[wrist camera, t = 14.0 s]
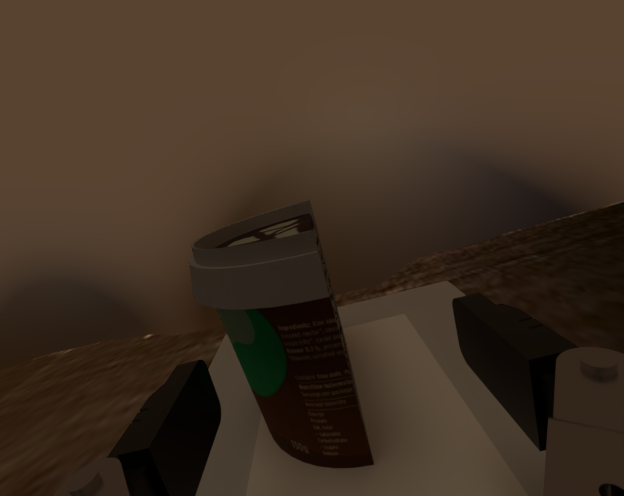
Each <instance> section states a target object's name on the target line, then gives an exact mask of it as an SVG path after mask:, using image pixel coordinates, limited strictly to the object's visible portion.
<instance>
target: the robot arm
mask: <svg viewBox="0 0 624 496" xmlns="http://www.w3.org/2000/svg"><path fill="white" fill-rule="evenodd" d="M452 307H453V313H454V319H455V325H456V330H457V336H458V342H459V347H460V350H461V353H462V355H463V358H464V360H465V361H466V363H467V364H468V366H469V367H470V368H471V369H472V371H473V372H474V373H475V374H476V375H477V377H478V378H479V379H480V380H481V381H482V383H483V384H484V385H485V386H486V387H487V389H488V390H489V391H490V392H491V393H492V394H493V396H494V397H495V398H496V399H497V400H498V402H499V403H500V404H501V405H502V406H503V408H504V409H505V410H506V411H507V412H508V414H509V415H510V416H511V417H512V418H513V420H514V421H515V422H516V423H517V424H518V426H519V427H520V428H521V429H522V430H523V432H524V433H525V434H526V435H527V436H528V438H529V439H530V440H531V441H532V442H533V444H534V445H535V446H536V447H537V448H538V450H539V451H544V450H546V459H545V474H544V489H543V496H624V354H622V353H620V352H617V351H613V350H609V349H604V348H596V347H580V348H579V347H578V346H576V345H574V344H573V343H571V342H570V341H568V340H567V339H565V338H564V337H562V336H560V335H559V334H557V333H556V332H554V331H553V330H551V329H550V328H548V327H547V326H543V324H542V323H540V322H539V321H537V320H536V319H532V317H531V316H529V315H528V314H526V313H525V312H523V311H522V310H520V309H518V308H514V307H511V306H508V305H504V304H498V305H496V304H494V303H493V302H491V301H490V300H489V299H487V298H486V297H484V296H483V295H482V294H480V293H474V294H470V295H466V296H462V297H458V298H454V299H453V301H452ZM220 422H221V405H220V401H219V398H218V395H217V392H216V390H215V387H214V384H213V381H212V379H211V376H210V373H209V370H208V368H207V365H206V363H205V362H204V361H203V360H197V361H193V362H189V363H185V364H181V365H178V366H176V368H175V369H174V371H173V372H172V374H171V375H170V377H169V378H168V380H167V381H166V383H165V384H164V385H162V386H161V387H160V388H159V389H158V390H157V391H156V392H154V393H153V394H152V395H151V396H150V397H149V398H148V399H147V401H146V402H145V404H144V405H143V407H142V408H141V410H140V413H138V414H137V415H136V417H135V418H134V420H133V423H132V424H130V425H129V427H128V428H127V430H126V431H125V433H124V434H123V435H122V437H121V438H120V440H119V441H118V443H117V444H116V445H115V447H114V448H113V450H112V451H111V453H110V454H109V456H108V457H107V458H105V459H101V460H98V461H96V462H94V463H91V464H89V465H88V466H86V467H84V468H83V469H81V470H79V471H78V472H77V473H75V474H74V475H73V476H71V477H70V478H69V479H68V480H67V481H66V482H64V483H63V484H62V485H61V486H60V488H59V489H58V490H57V491H56V492H55V494H54V495H53V496H195V495H196V492H197V490H198V487H199V484H200V481H201V478H202V475H203V472H204V469H205V466H206V463H207V460H208V457H209V454H210V451H211V449H212V446H213V443H214V440H215V437H216V434H217V431H218V428H219V425H220Z"/></svg>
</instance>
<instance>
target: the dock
mask: <svg viewBox="0 0 624 496" xmlns="http://www.w3.org/2000/svg"><path fill="white" fill-rule="evenodd" d="M462 296H466V295H465V294H463V293H462V292H461V291H460V290H458V289H457V288H456V287H454V286H453V285H452V284H451V283H449V282H448V281H444V282H439V283H435V284H431V285H427V286H423V287H419V288H415V289H411V290H407V291H403V292H399V293H394V294H390V295H386V296H382V297H378V298H374V299H370V300H366V301H362V302H358V303H354V304H349V305H345V306H341V307H337V309H338V313H339V317H340V321H341V325H342V329H343V333H344V337H345V341H346V344H347V349H348V353H349V357H350V362H351V366H352V370H353V375H354V379H355V383H356V388H357V392H358V396H359V401H360V405H361V409H362V414H363V418H364V422H365V427H366V431H367V435H368V440H369V444H370V448H371V453H372V457H373V462H374V465H369V466H363V467H357V468H327V467H319V466H315V465H311V464H308V463H304V462H302V461H300V460H298V459H296V458H294V457H291V456H290V455H289V454H287V453H286V452H285V451H283V450H282V449H281V448H280V447H279V446H278V445H277V443H276V442H275V441H274V440H273V437H272V435H271V433H270V431H269V429H268V427H267V424H266V422H265V420H264V417H263V415H262V413H261V411H260V408H259V406H258V404H257V401H256V399H255V397H254V394H253V392H252V390H251V388H250V385H249V383H248V381H247V378H246V376H245V374H244V371H243V369H242V367H241V365H240V362H239V360H238V358H237V355H236V353H235V351H234V348H233V346H232V344H231V342H230V339H229V337H228V335H225V337H224V339H223V341H222V343H221V345H220V347H219V349H218V351H217V353H216V355H215V357H214V359H213V361H212V363H211V365H210V367H209V369H208V370H209V373H210V376H211V379H212V381H213V384H214V387H215V390H216V392H217V395H218V398H219V401H220V405H221V422H220V425H219V428H218V431H217V434H216V437H215V440H214V443H213V446H212V449H211V451H210V454H209V457H208V460H207V463H206V466H205V469H204V472H203V475H202V478H201V481H200V484H199V487H198V490H197V492H196V495H195V496H543V489H544V474H545V459H546V450H544V451H539V450H538V448H537V447H536V446H535V445H534V444H533V442H532V441H531V440H530V439H529V438H528V436H527V435H526V434H525V433H524V432H523V430H522V429H521V428H520V427H519V426H518V424H517V423H516V422H515V421H514V420H513V418H512V417H511V416H510V415H509V414H508V412H507V411H506V410H505V409H504V408H503V406H502V405H501V404H500V403H499V402H498V400H497V399H496V398H495V397H494V396H493V394H492V393H491V392H490V391H489V390H488V389H487V387H486V386H485V385H484V384H483V383H482V381H481V380H480V379H479V378H478V377H477V375H476V374H475V373H474V372H473V371H472V369H471V368H470V367H469V366H468V364H467V363H466V361H465V360H464V358H463V355H462V353H461V350H460V347H459V342H458V336H457V330H456V325H455V319H454V313H453V307H452V301H453V299H454V298H458V297H462Z"/></svg>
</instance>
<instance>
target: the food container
mask: <svg viewBox="0 0 624 496" xmlns="http://www.w3.org/2000/svg"><path fill="white" fill-rule="evenodd" d="M191 247H192V251H193V257H192V258H191V259H190V261H189V264H190V273H191V282H192V291H193V295H194V299H195V300H196V301H198V302H199V303H200V304H202V305H205V306H208V307H213V308H216V309H217V312H218V314H219V316H220V319H221V321H222V323H223V325H224V328H225V330H226V332H227V335H228V337H229V339H230V342H231V344H232V346H233V348H234V351H235V353H236V355H237V358H238V360H239V362H240V365H241V367H242V369H243V371H244V374H245V376H246V378H247V381H248V383H249V385H250V388H251V390H252V392H253V394H254V397H255V399H256V401H257V404H258V406H259V408H260V411H261V413H262V415H263V417H264V420H265V422H266V424H267V427H268V429H269V431H270V433H271V435H272V437H273V440H274V441H275V442H276V443H277V445H278V446H279V447H280V448H281V449H282V450H283V451H285V452H286V453H287V454H289V455H290V456H291V457H294V458H296V459H298V460H300V461H302V462H304V463H308V464H311V465H315V466H319V467H327V468H357V467H363V466H369V465H374V462H373V457H372V453H371V448H370V444H369V440H368V435H367V431H366V427H365V422H364V418H363V414H362V409H361V405H360V401H359V396H358V392H357V388H356V383H355V379H354V375H353V370H352V366H351V362H350V357H349V353H348V349H347V344H346V341H345V337H344V333H343V329H342V325H341V321H340V317H339V313H338V309H337V305H336V301H335V297H334V294H333V290H332V286H331V282H330V278H329V274H328V270H327V266H326V262H325V258H324V254H323V250H322V247H321V243H320V239H319V235H318V231H317V227H316V223H315V219H314V215H313V211H312V207H311V204H310V200H308V201H304V202H300V203H296V204H293V205H289V206H286V207H282V208H278V209H275V210H272V211H268V212H265V213H262V214H259V215H256V216H253V217H250V218H247V219H244V220H241V221H238V222H235V223H232V224H230V225H227V226H224V227H222V228H220V229H217V230H215V231H212V232H210V233H208V234H206V235H204V236H202V237H200V238H198V239H197V240H196V241H194V242H193V243H192V245H191Z"/></svg>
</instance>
